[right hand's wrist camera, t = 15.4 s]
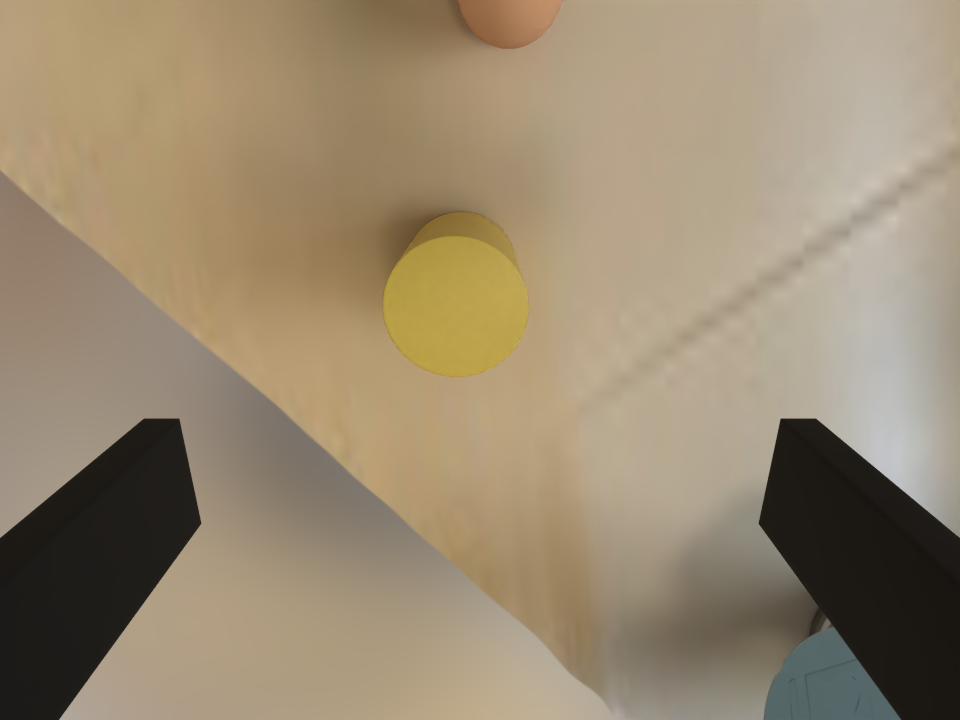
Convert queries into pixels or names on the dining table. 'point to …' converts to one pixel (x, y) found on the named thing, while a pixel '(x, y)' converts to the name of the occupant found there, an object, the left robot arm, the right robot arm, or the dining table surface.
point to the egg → (509, 20)
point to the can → (456, 297)
